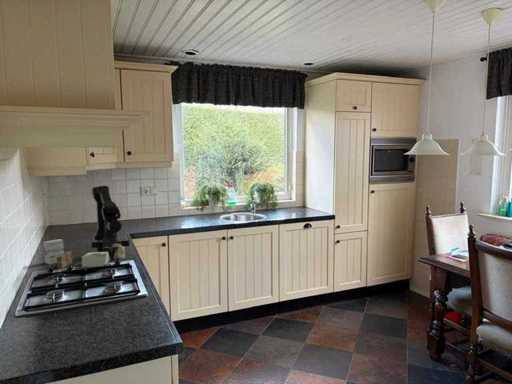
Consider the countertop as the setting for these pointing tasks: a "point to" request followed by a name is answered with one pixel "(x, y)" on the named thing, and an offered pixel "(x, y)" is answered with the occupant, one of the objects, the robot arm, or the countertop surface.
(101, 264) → the socket block
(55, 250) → the ink box
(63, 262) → the wall board
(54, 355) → the countertop surface
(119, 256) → the dowel
